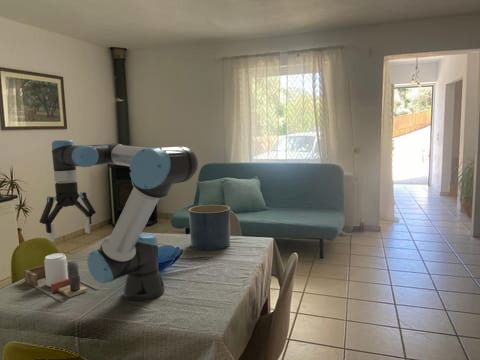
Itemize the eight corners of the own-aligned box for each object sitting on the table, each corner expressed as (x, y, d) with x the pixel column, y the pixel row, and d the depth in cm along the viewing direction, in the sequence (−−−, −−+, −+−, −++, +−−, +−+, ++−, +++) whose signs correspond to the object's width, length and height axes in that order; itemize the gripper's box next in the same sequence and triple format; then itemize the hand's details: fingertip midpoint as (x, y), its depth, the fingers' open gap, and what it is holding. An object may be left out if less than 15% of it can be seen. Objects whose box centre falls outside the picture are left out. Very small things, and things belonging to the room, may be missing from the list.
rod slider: (92, 289, 145) (89, 259, 143) (64, 299, 136) (61, 268, 135) (78, 282, 151) (76, 254, 150) (51, 292, 143) (48, 262, 141)
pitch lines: (98, 289, 145) (98, 288, 145) (61, 302, 134) (61, 301, 134) (70, 276, 159) (70, 275, 159) (35, 287, 148) (34, 286, 148)
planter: (186, 251, 190) (185, 213, 187) (193, 239, 212) (192, 205, 209) (229, 250, 189) (228, 212, 186) (232, 238, 211) (231, 204, 208)
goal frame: (70, 276, 159) (69, 265, 159) (35, 287, 148) (33, 275, 148) (59, 271, 166) (58, 260, 165) (24, 281, 155) (23, 270, 154)
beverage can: (59, 288, 147) (56, 259, 145) (41, 287, 148) (39, 258, 147) (72, 280, 154) (70, 253, 153) (55, 279, 156) (53, 252, 155)
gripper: (92, 177, 149) (96, 228, 151) (25, 185, 129) (31, 243, 132) (102, 178, 144) (105, 231, 146) (34, 186, 125) (40, 246, 127)
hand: (70, 237), depth 139 cm, fingers open, 13 cm apart
